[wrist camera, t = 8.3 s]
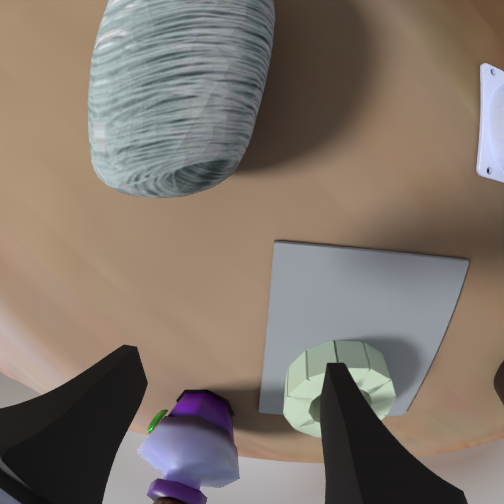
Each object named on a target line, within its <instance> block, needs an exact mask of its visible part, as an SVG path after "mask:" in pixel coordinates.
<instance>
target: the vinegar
mask: <svg viewBox="0 0 504 504" xmlns="http://www.w3.org/2000/svg"><path fill="white" fill-rule="evenodd" d="M494 389H495V390H496V392H497V394H498V396H499V398H500V399H501V401H502V403H503V405H504V362H503V363H502V364H501V366H500V367H499V369H498V371H497V373H496V375H495V379H494Z"/></svg>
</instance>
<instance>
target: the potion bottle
mask: <svg viewBox="0 0 504 504" xmlns="http://www.w3.org/2000/svg"><path fill="white" fill-rule="evenodd" d="M176 401H177V404H176V406H175V407H174V408H173V409H172V411H171V412H170V413H169V415H168V416H165V417H164V418H163V419H162V417H163V416H164V415H165V414H166V412H167V411H168V410H161V411H160V412H159V413H158V414H157V415H156V416H155V417H154V419H153V420H152V421H151V423H150V425H149V427H148V433H150V432H151V431H152V430H153V429H154V427H155V426H156V425H157V424H158V422H159V421H160V420H161V419H162V420H161V421H160V423H159V424H158V425H157V426H156V427H155V429H154V430H153V431H152V432H151V434H150V435H149V436H148V437H147V439H146V440H145V441H144V442H143V444H142V445H141V446H140V447H139V449H138V450H137V452H138V453H139V455H140V456H141V457H142V458H143V459H144V460H145V461H146V462H147V463H148V465H150V467H151V468H152V469H153V470H155V471H157V472H159V473H161V474H163V475H164V478H163V479H156V480H155V481H153V482H152V483H151V485H150V488H149V490H148V493H147V496H149V497H150V498H151V499H152V500H154V502H153V504H206V501H207V497H206V496H204V494H203V493H201V491H200V490H199V489H200V486H206V487H216V488H217V487H218V488H221V487H223V486H226V485H227V484H229V483H232V482H233V481H236V480H237V479H239V466H238V454H237V447H236V446H235V444H234V438H233V423H232V416H234V413H233V410H232V408H231V406H230V404H229V401H228V400H226V399H224V398H222V397H220V396H218V395H216V394H214V393H212V392H210V391H208V390H184V392H183V393H182V394H181V395H180V397H179V398H178V399H177V400H176Z"/></svg>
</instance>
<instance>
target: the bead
mask: <svg viewBox="0 0 504 504" xmlns="http://www.w3.org/2000/svg"><path fill="white" fill-rule="evenodd" d="M339 362H344V363H345V364H346V366H347V368H348V370H349V372H350V374H351V375H352V377H353V379H354V381H355V383H356V384H357V386H358V388H359V389H360V391H361V393H362V394H363V396H364V397H365V399H366V400H367V402H368V403H369V405H370V406H371V408H372V409H373V411H374V412H375V414H376V415H377V416H378V418H379V419H380V420H381V419H383V418H384V417H386V415H387V414H388V412H389V411H390V409H391V407H392V405H393V403H394V401H395V399H396V394H395V391H394V387H393V384H392V380H391V377H390V374H389V371H388V368H387V365H386V362H385V359H384V356H383V354H382V352H380V351H378V350H377V349H375V348H373V347H372V346H370V345H368V344H367V343H365V342H363V343H362V341H346V340H335V344H334V342H333V341H330V342H327V343H324V344H322V345H319V346H316V347H313V348H310V349H307V352H306V351H304V352H303V353H302V354H301V355H300V356H299V357H298V358H297V359H296V360H295V361H294V362H293V363H292V364H291V365H290V366H289V368H288V370H287V376H286V382H285V392H284V408H283V413H284V416H285V418H286V419H287V420H288V422H289V423H290V424H291V426H292V427H293V428H295V430H298V431H300V432H303V433H305V434H308V435H310V436H313V437H315V436H316V437H322V436H321V428H320V396H319V395H320V394H321V392H322V387H323V382H324V376H325V371H326V365H327V363H339Z"/></svg>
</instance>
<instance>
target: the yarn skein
mask: <svg viewBox="0 0 504 504" xmlns="http://www.w3.org/2000/svg"><path fill="white" fill-rule="evenodd" d="M274 24H275V9H274V2H273V0H109V1H108V4H107V7H106V10H105V12H104V15H103V18H102V21H101V23H100V27H99V30H98V34H97V38H96V42H95V46H94V51H93V55H92V61H91V71H90V82H89V94H88V127H89V143H90V148H91V162H92V165H93V167H94V170H95V172H96V174H97V176H98V177H99V178H100V179H101V180H102V181H103V182H104V183H106V184H107V185H108V186H110V187H112V188H113V189H115V190H116V191H118V192H120V193H123V194H128V195H132V196H137V197H146V198H172V197H183V196H188V195H191V194H195V193H198V192H201V191H204V190H207V189H209V188H212V187H214V186H216V185H218V184H219V183H221V182H222V181H224V180H225V179H226V178H228V177H229V176H230V175H231V174H232V173H233V172H234V171H235V170H236V168H237V166H238V164H239V162H240V161H241V159H242V157H243V155H244V153H245V151H246V149H247V147H248V145H249V142H250V140H251V136H252V133H253V129H254V125H255V122H256V118H257V114H258V111H259V107H260V103H261V99H262V96H263V92H264V88H265V84H266V79H267V74H268V69H269V64H270V59H271V54H272V47H273V37H274Z"/></svg>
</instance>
